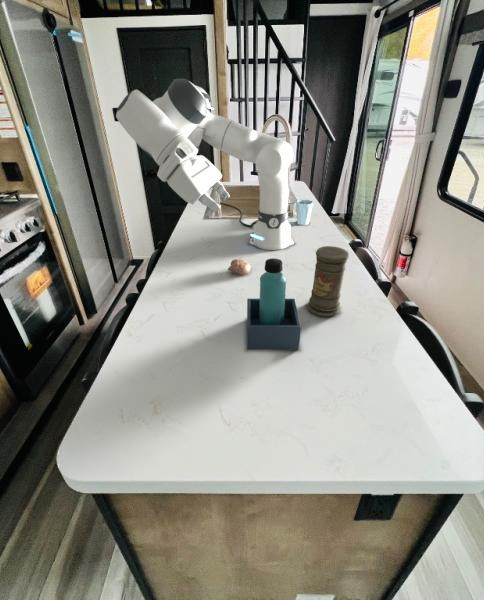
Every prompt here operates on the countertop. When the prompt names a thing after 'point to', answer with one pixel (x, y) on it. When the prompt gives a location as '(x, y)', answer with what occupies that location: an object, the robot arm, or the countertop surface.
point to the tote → (273, 329)
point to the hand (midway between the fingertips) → (223, 204)
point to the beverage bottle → (272, 294)
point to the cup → (303, 211)
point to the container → (328, 281)
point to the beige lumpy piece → (239, 267)
